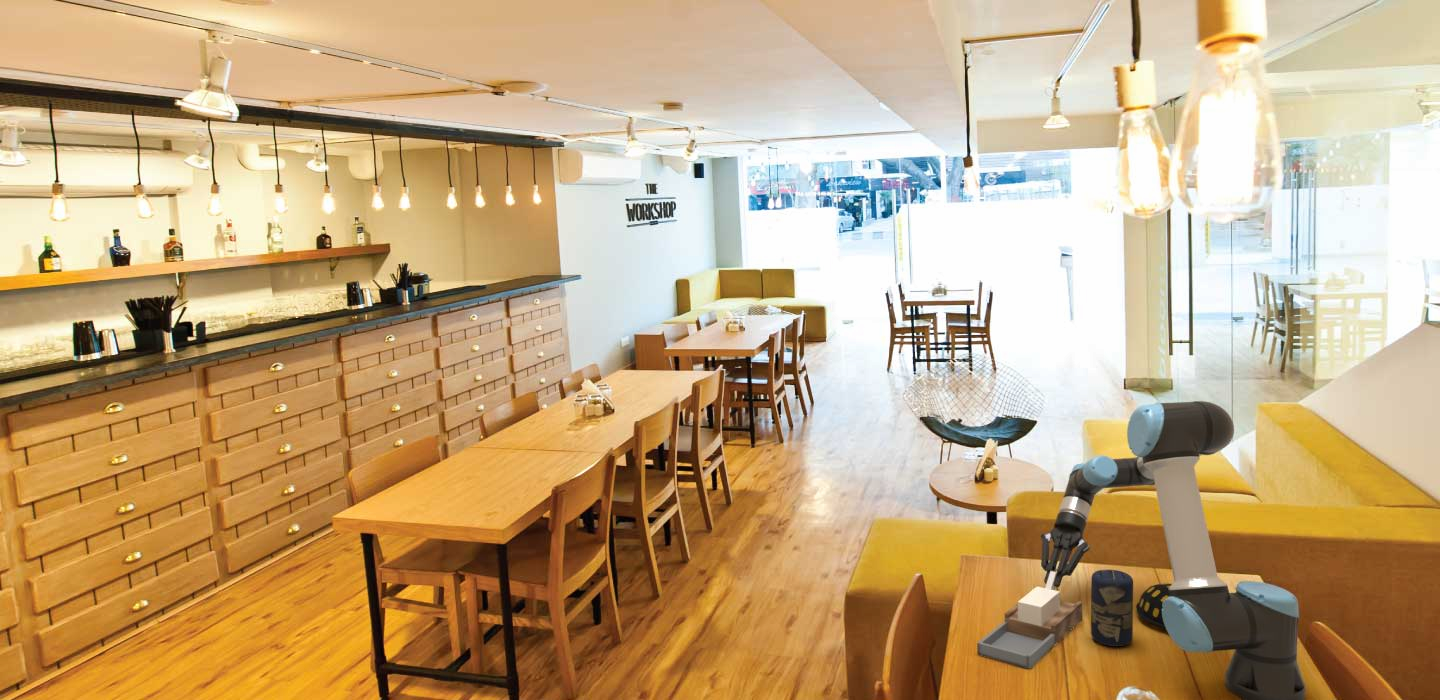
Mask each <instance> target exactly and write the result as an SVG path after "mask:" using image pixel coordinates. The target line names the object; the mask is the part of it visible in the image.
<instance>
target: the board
mask: <svg viewBox="0 0 1440 700" xmlns="http://www.w3.org/2000/svg"><path fill="white" fill-rule="evenodd" d="M1080 621H1081V622H1083V601H1079V600H1078V601H1077V602H1076V603H1072V602H1068V601H1064V600H1060V610H1059V611H1058V612H1057V613H1056V614H1055V615H1054V616H1052V617H1051V618H1050V619H1049V620H1048V621H1047V622H1046V623H1045V624H1044V625H1042V626H1038V625H1034V624H1030V623H1026V622H1022V621H1018V603H1016V604H1015V605H1014V606H1012V607H1011V608H1010V609H1009V610H1008V611H1006V612H1005V613H1004V622H1007V631H1008V632H1012V633H1015V634H1019V635H1023V636H1027V637H1031V638H1035V639H1038V640H1042V641H1044V640H1045V639H1046V638H1047V637H1048V636H1049V635H1050V634H1055V644H1056V643H1057V644H1059V642H1061V641H1062V640H1063V639H1064V638H1065V637H1066V636H1067V635H1068V634H1069V633H1070V632H1071V631H1072V630H1074V629H1073V627H1075V626H1076V625H1077V624H1078V623H1079V622H1080ZM1081 622H1080V623H1081ZM1080 623H1079V624H1080ZM1079 624H1078V625H1079ZM1078 625H1077V626H1078ZM1077 626H1076V627H1077ZM1076 627H1075V628H1076ZM1071 629H1072V630H1071ZM1069 631H1070V632H1069ZM1067 633H1068V634H1067ZM1066 634H1067V635H1066ZM1065 635H1066V636H1065ZM1064 636H1065V637H1064ZM1063 637H1064V638H1063ZM1062 638H1063V639H1062ZM1061 639H1062V640H1061ZM1060 640H1061V641H1060ZM1057 644H1056V645H1057Z"/></svg>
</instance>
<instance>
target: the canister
mask: <svg viewBox="0 0 1440 700" xmlns="http://www.w3.org/2000/svg"><path fill="white" fill-rule="evenodd" d="M1090 578H1091V587H1090V589H1091V590H1090V593H1091V594H1090V596H1091V597H1090V598H1091V599H1090V600H1091V601H1090V635H1091V637H1092V639H1093V640H1095V641H1096V642H1098V643H1099V644H1102V645H1106V646H1110V647H1111V646H1112V647H1123V646H1127V645H1129V644H1130V643H1131V642H1132V641H1133V628H1134V627H1133V626H1134V625H1133V623H1134V621H1133V619H1134V616H1133V615H1134V579H1133V578H1132V576H1131V575H1130V574H1128V573H1127V572H1124V571H1121V570H1117V569H1107V568H1106V569H1100V570H1099V569H1098V570H1097V571H1095V572H1093V573H1092V574H1091V577H1090Z"/></svg>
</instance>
